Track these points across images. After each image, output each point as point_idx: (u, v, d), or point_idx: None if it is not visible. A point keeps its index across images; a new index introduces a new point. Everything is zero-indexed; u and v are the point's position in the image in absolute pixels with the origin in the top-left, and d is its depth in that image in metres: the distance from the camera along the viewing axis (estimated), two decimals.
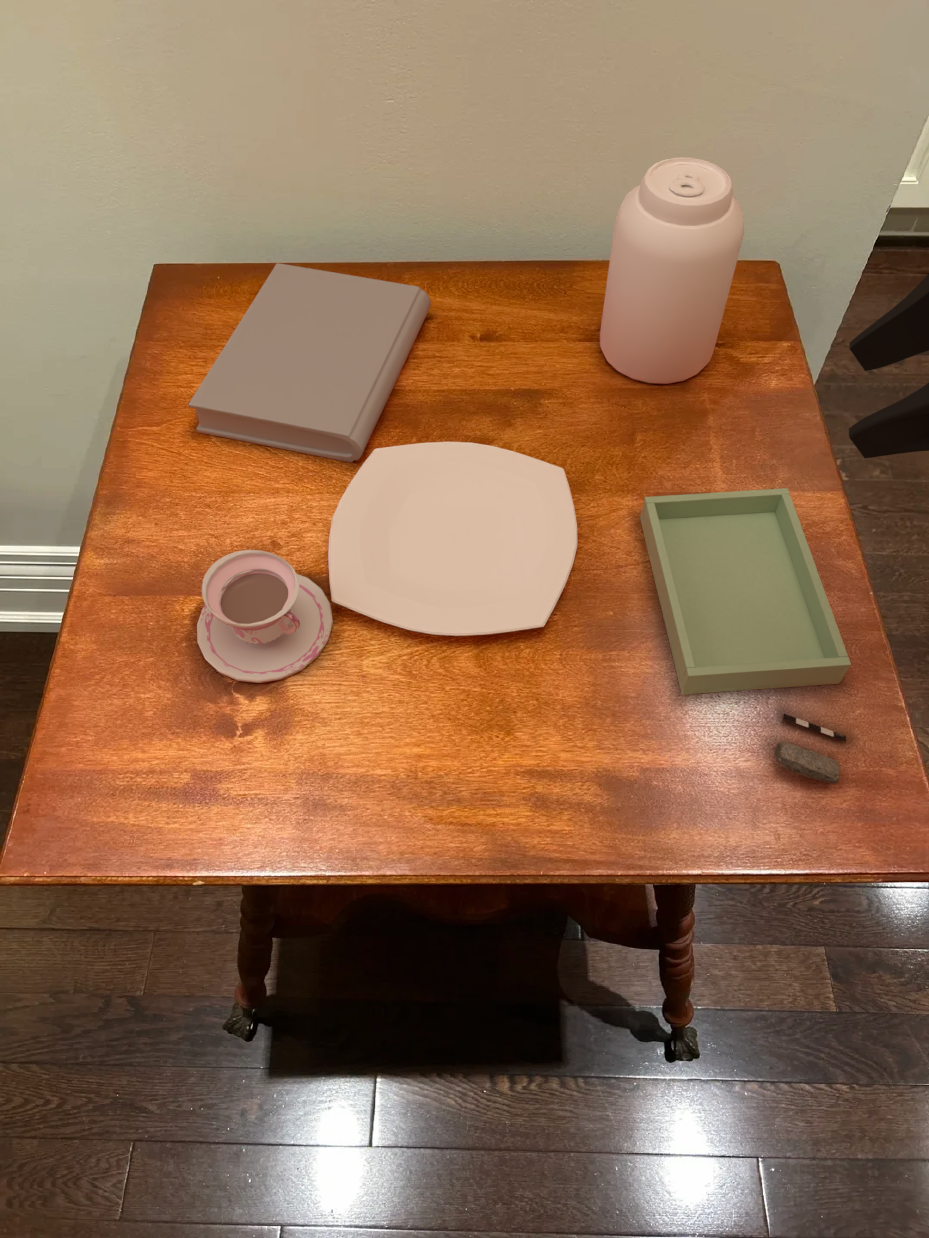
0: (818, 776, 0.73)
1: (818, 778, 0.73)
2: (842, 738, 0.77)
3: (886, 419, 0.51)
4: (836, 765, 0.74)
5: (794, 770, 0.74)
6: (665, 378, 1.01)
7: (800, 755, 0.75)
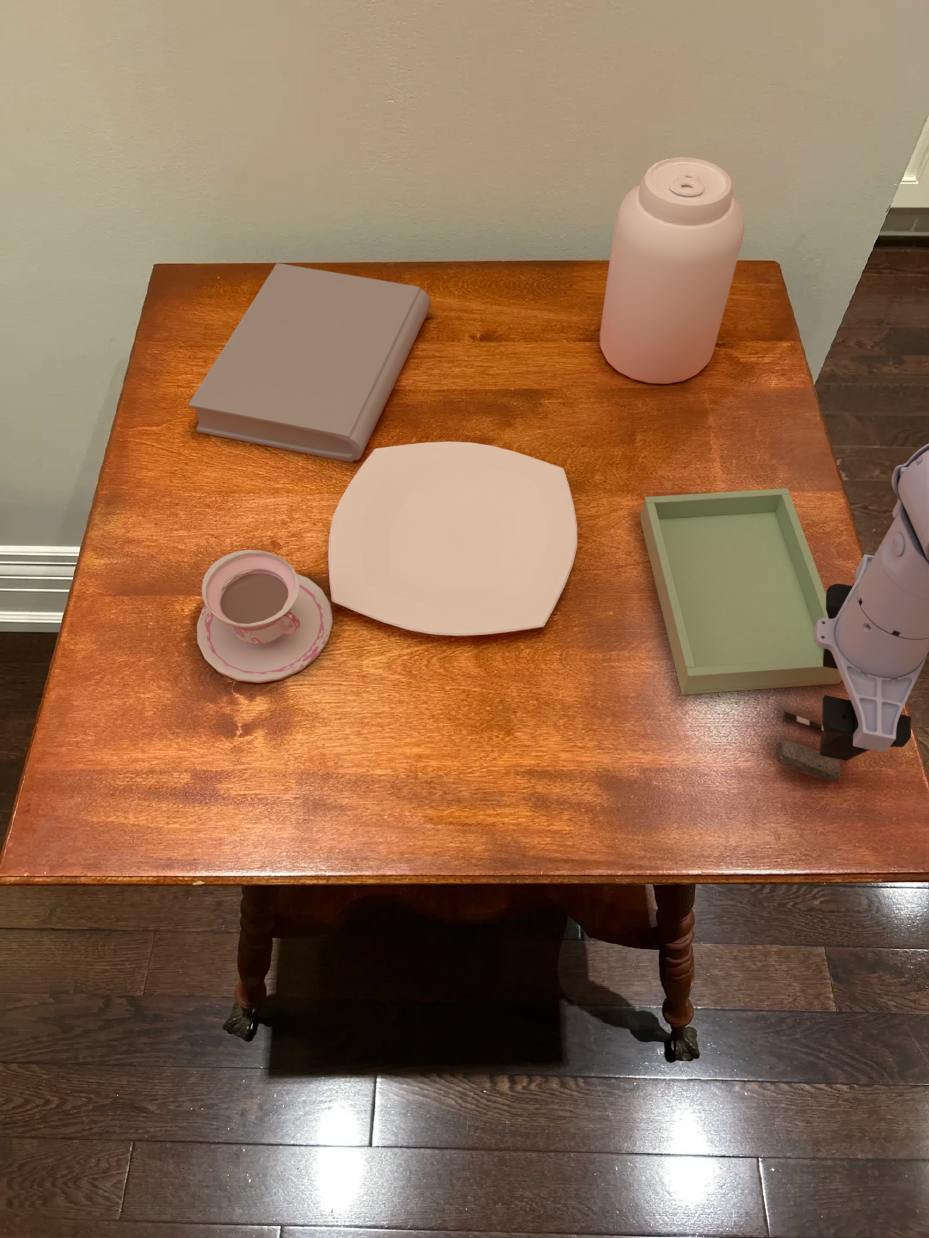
0: (819, 774, 0.74)
1: (819, 776, 0.74)
2: None
3: (823, 743, 0.66)
4: (837, 763, 0.75)
5: (795, 768, 0.74)
6: (665, 378, 1.01)
7: (801, 753, 0.75)
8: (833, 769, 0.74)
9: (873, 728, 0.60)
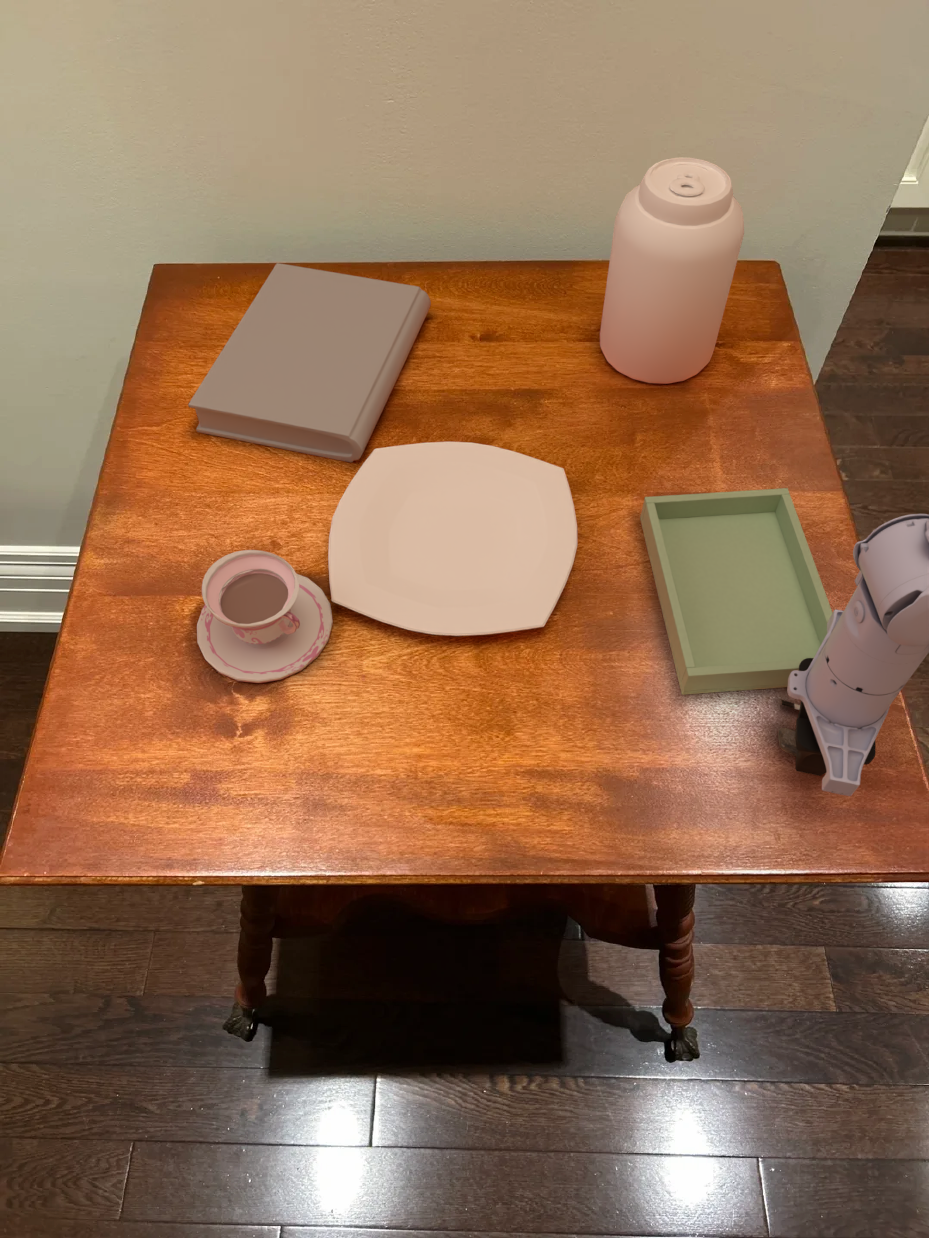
0: None
1: None
2: None
3: (798, 760, 0.73)
4: None
5: None
6: (665, 378, 1.01)
7: None
8: None
9: (839, 774, 0.65)
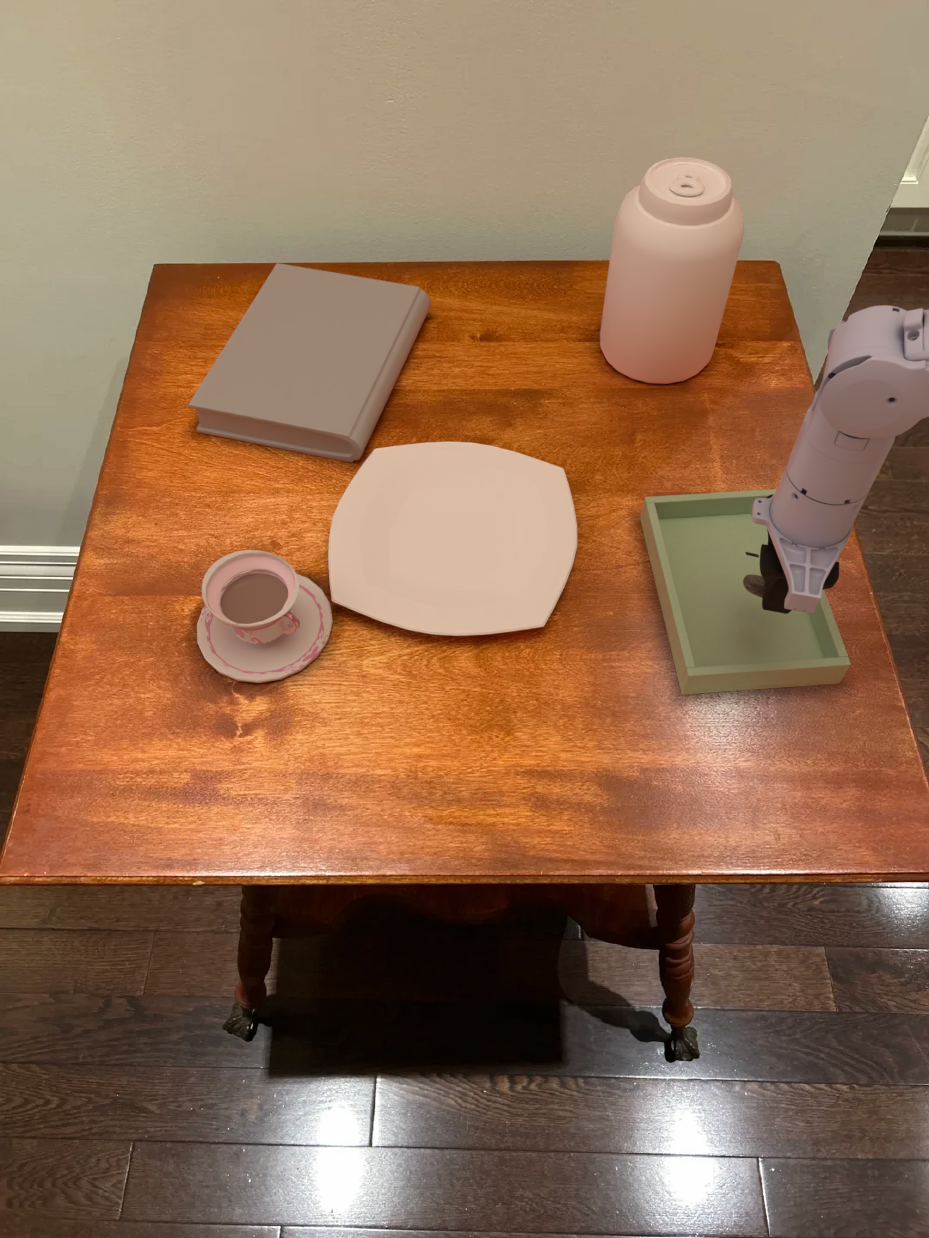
0: None
1: None
2: None
3: (764, 594, 0.73)
4: None
5: None
6: (665, 378, 1.01)
7: None
8: None
9: (801, 590, 0.65)
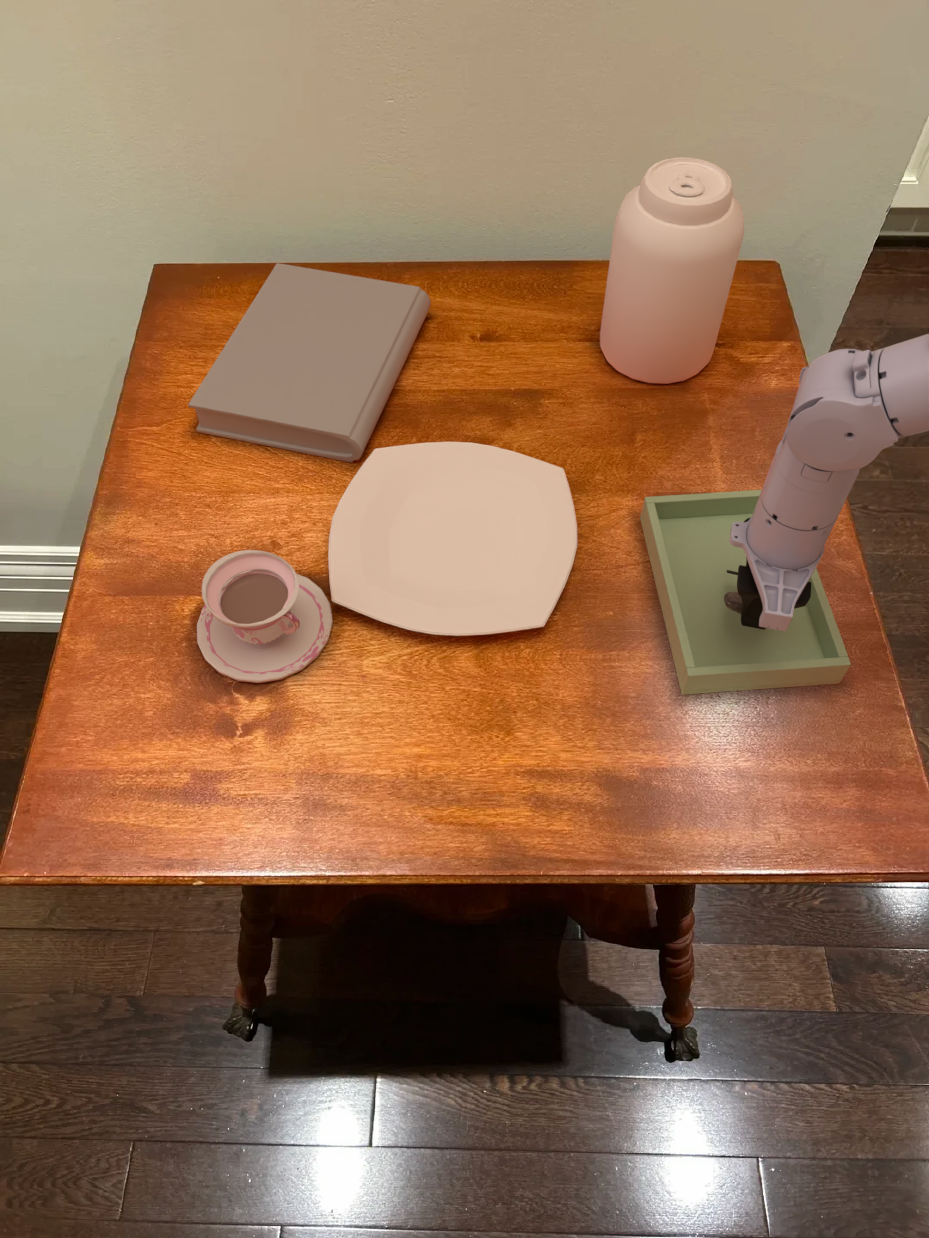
0: None
1: None
2: None
3: (742, 611, 0.78)
4: None
5: None
6: (665, 378, 1.01)
7: None
8: None
9: (774, 609, 0.70)
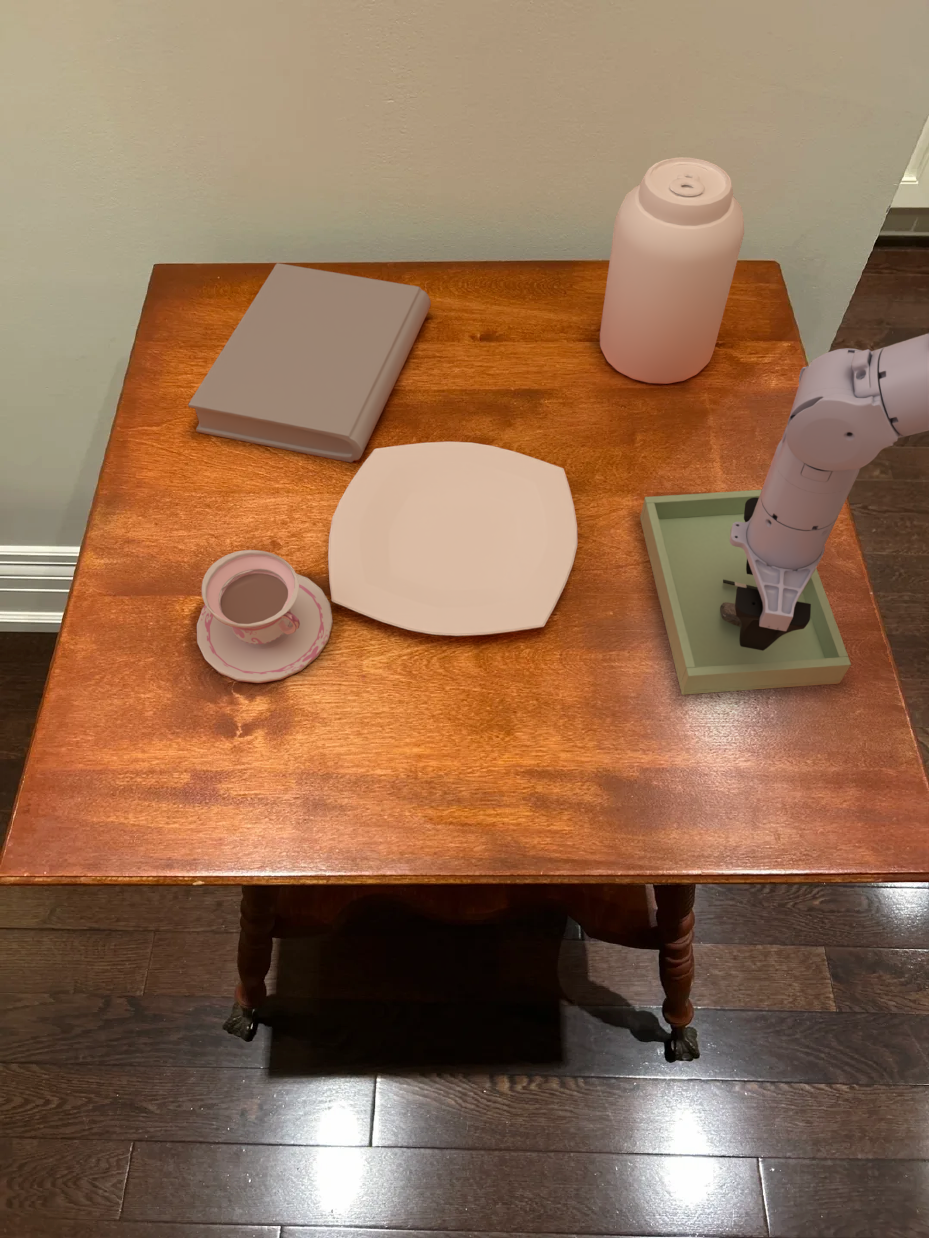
0: None
1: None
2: None
3: (741, 632, 0.77)
4: None
5: (738, 623, 0.81)
6: (665, 378, 1.01)
7: None
8: None
9: (775, 609, 0.70)
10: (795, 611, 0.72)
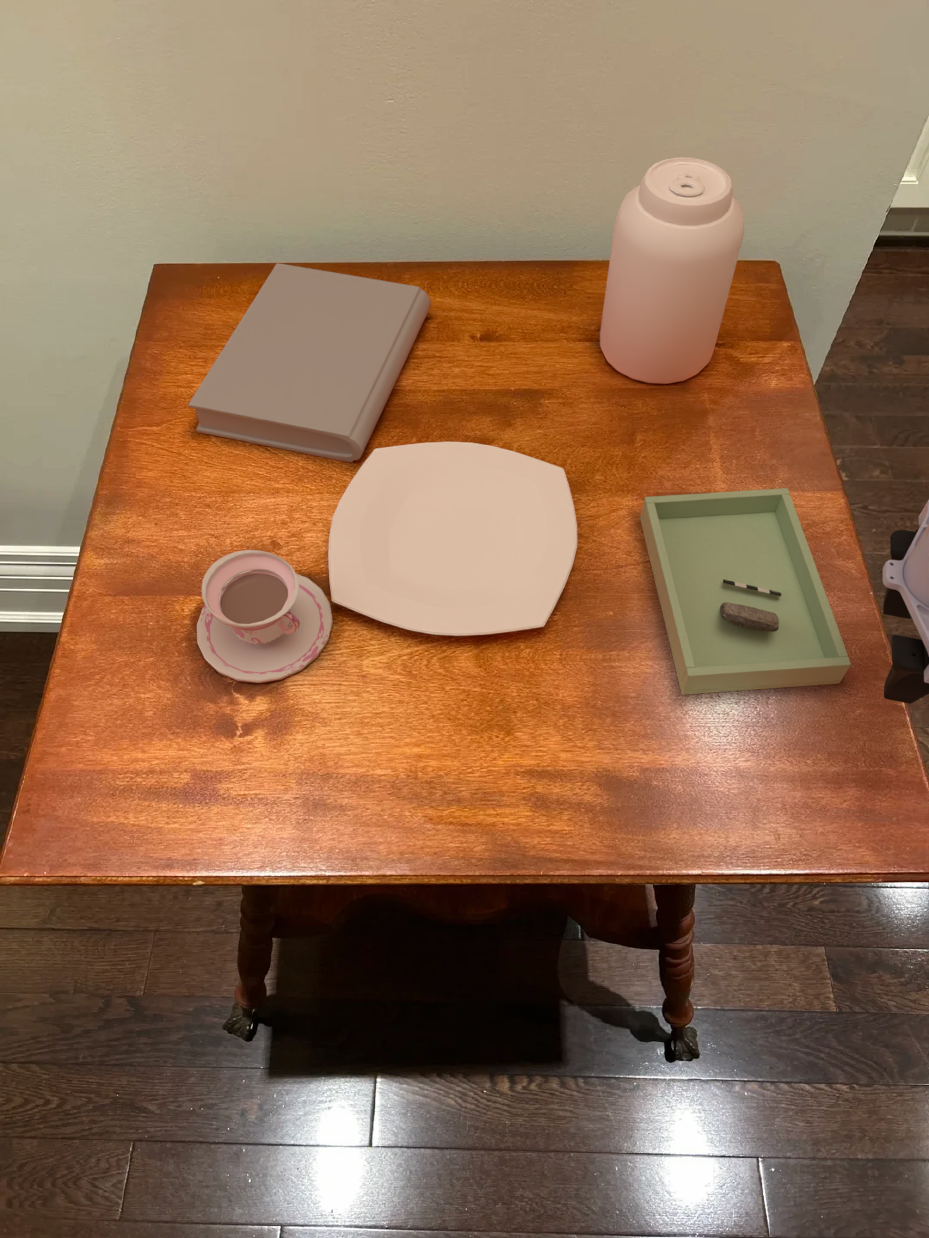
0: (760, 625, 0.81)
1: (760, 627, 0.81)
2: (777, 594, 0.84)
3: (889, 684, 0.67)
4: (775, 615, 0.82)
5: (738, 623, 0.81)
6: (665, 378, 1.01)
7: (742, 610, 0.82)
8: (772, 620, 0.81)
9: None
10: None
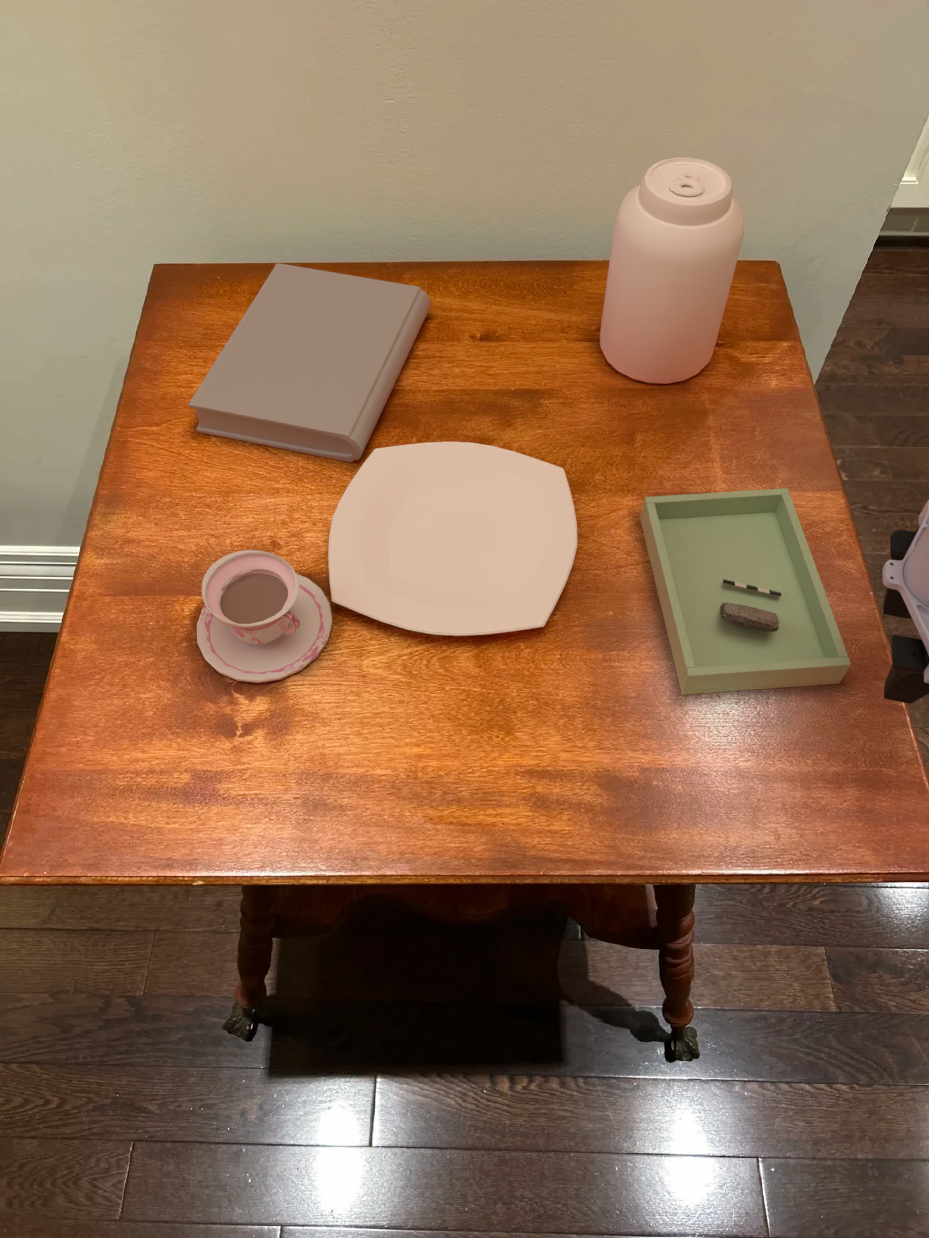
0: (760, 625, 0.81)
1: (760, 627, 0.81)
2: (777, 594, 0.84)
3: (889, 684, 0.67)
4: (775, 615, 0.82)
5: (738, 623, 0.81)
6: (665, 378, 1.01)
7: (742, 610, 0.82)
8: (772, 620, 0.81)
9: None
10: None
